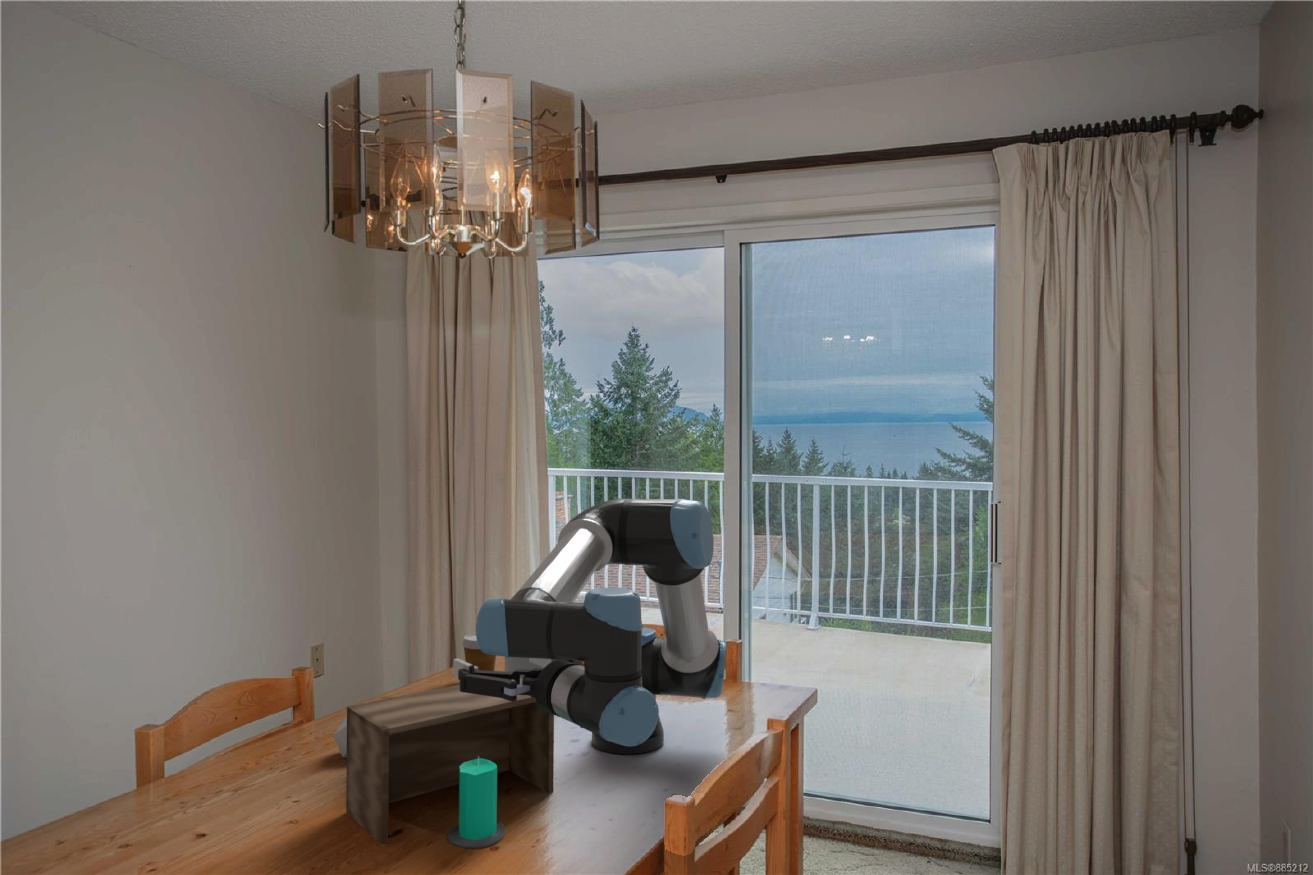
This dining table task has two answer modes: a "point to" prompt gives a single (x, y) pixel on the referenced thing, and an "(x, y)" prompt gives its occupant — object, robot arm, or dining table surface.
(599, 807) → the dining table surface
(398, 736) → the cubby
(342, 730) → the die
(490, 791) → the candle
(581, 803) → the dining table surface
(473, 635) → the disposable coffee cup
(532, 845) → the dining table surface
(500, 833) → the coaster
